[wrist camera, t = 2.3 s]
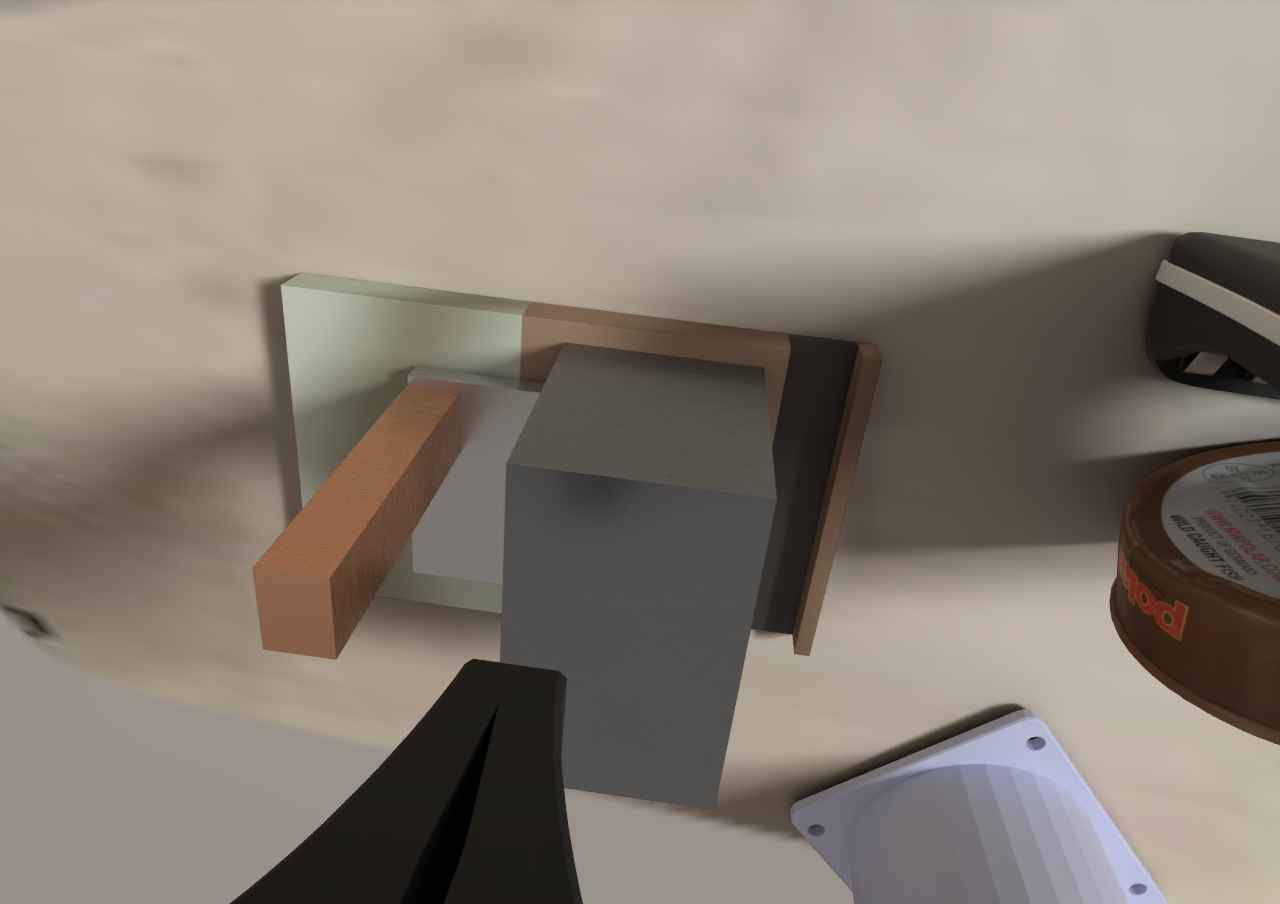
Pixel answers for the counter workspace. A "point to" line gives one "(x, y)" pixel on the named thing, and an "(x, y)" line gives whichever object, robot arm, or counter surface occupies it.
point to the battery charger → (1218, 315)
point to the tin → (1207, 582)
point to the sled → (397, 508)
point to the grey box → (640, 561)
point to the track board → (527, 349)
